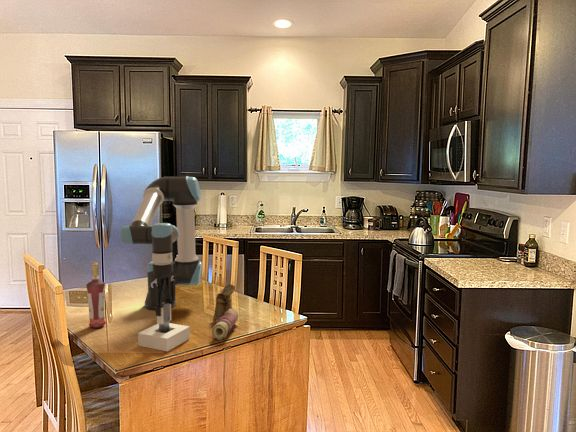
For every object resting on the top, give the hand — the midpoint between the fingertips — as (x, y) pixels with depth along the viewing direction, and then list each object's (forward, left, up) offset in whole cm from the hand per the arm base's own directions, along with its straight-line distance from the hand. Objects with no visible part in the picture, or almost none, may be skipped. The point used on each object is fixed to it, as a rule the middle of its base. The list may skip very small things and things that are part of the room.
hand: (164, 321), depth 171 cm
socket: (0, 0, -8) cm, 8 cm away
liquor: (-38, +2, -9) cm, 39 cm away
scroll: (+15, +20, -9) cm, 27 cm away
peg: (0, 0, -5) cm, 5 cm away
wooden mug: (+8, +32, -9) cm, 34 cm away
